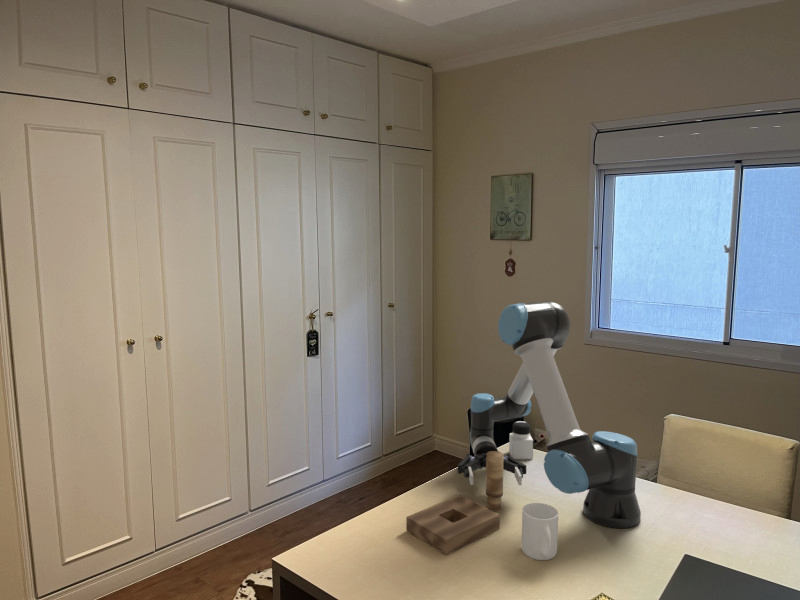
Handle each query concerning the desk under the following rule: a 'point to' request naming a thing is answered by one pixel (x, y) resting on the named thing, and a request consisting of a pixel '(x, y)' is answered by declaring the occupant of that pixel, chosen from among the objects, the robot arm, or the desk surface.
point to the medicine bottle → (521, 441)
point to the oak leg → (494, 479)
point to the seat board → (452, 524)
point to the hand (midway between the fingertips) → (496, 480)
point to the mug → (539, 531)
